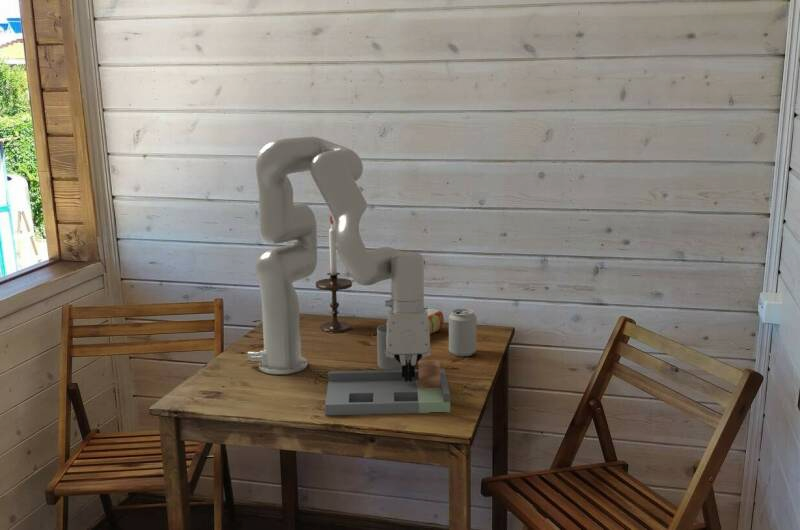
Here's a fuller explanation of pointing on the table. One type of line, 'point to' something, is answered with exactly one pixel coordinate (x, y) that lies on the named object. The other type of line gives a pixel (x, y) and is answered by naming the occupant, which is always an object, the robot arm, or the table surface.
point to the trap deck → (383, 393)
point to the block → (429, 374)
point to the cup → (383, 360)
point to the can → (462, 332)
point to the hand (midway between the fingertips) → (408, 379)
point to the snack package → (435, 320)
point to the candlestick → (334, 287)
